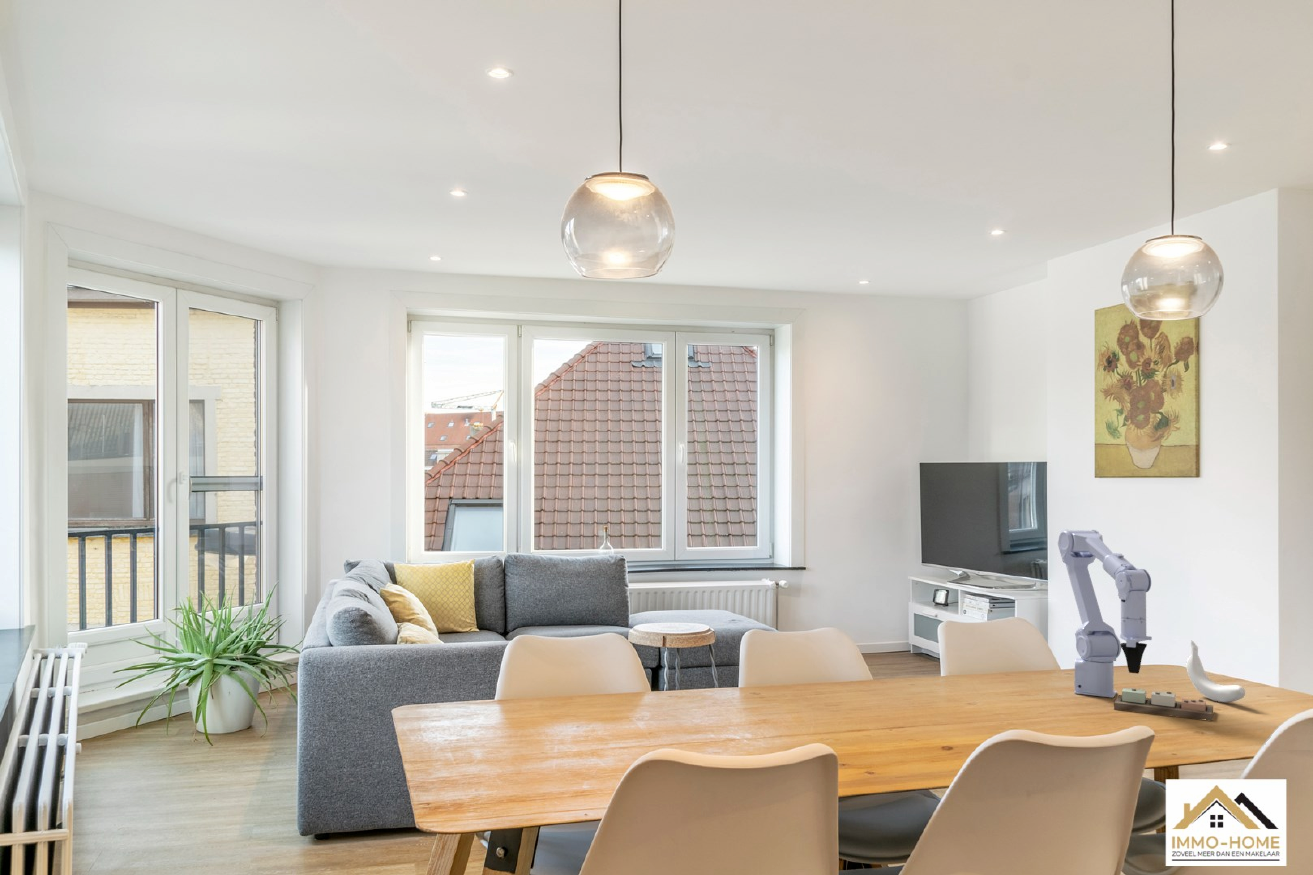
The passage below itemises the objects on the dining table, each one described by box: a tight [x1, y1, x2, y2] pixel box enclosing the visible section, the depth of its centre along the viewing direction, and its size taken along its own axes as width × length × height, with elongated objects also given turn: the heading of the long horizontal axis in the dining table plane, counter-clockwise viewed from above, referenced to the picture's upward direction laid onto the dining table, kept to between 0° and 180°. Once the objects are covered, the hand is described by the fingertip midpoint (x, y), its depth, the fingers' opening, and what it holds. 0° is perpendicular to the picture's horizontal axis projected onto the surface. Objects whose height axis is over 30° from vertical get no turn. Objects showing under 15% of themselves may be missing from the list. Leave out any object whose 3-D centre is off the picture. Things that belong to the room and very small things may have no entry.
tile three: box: [1180, 698, 1207, 711], centre depth 237 cm, size 5×5×3 cm
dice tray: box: [1113, 694, 1214, 722], centre depth 240 cm, size 21×11×2 cm, turn 59°
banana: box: [1185, 640, 1246, 703], centre depth 252 cm, size 5×19×15 cm, turn 15°
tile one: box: [1121, 687, 1147, 703], centre depth 243 cm, size 5×5×3 cm
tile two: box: [1150, 690, 1177, 707], centre depth 240 cm, size 5×5×3 cm
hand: (1134, 672), depth 244 cm, fingers closed
